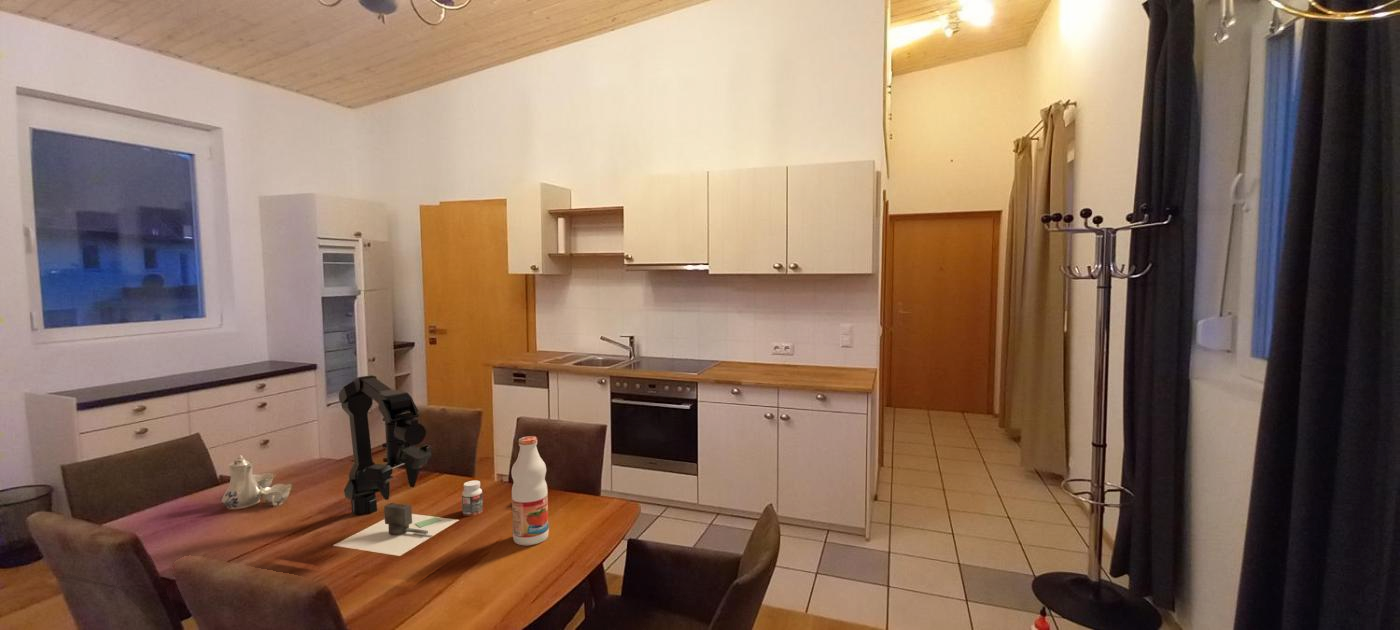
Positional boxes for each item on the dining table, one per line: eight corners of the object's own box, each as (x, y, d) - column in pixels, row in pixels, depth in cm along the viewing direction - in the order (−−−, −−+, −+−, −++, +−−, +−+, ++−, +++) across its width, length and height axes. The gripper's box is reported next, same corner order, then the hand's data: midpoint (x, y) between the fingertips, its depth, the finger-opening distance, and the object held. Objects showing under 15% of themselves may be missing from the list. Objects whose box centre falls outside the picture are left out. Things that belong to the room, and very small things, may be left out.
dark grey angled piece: (381, 533, 155) (380, 508, 155) (396, 525, 160) (394, 501, 160) (420, 539, 152) (418, 513, 151) (433, 531, 156) (432, 505, 156)
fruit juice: (526, 528, 160) (523, 432, 158) (555, 533, 157) (552, 435, 155) (505, 543, 151) (502, 442, 149) (536, 548, 148) (532, 444, 146)
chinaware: (302, 506, 182) (305, 455, 182) (239, 520, 168) (242, 464, 168) (265, 490, 197) (268, 442, 198) (205, 501, 183) (208, 450, 183)
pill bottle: (475, 519, 167) (474, 487, 166) (458, 518, 168) (457, 485, 167) (486, 511, 172) (485, 480, 172) (470, 510, 173) (468, 479, 173)
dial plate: (333, 549, 149) (332, 544, 149) (398, 515, 170) (398, 511, 170) (400, 559, 143) (399, 555, 143) (459, 523, 164) (459, 519, 164)
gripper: (395, 450, 144) (397, 509, 146) (445, 431, 162) (447, 483, 164) (360, 447, 147) (363, 505, 148) (413, 428, 165) (415, 480, 166)
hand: (399, 493), depth 157 cm, fingers open, 9 cm apart
